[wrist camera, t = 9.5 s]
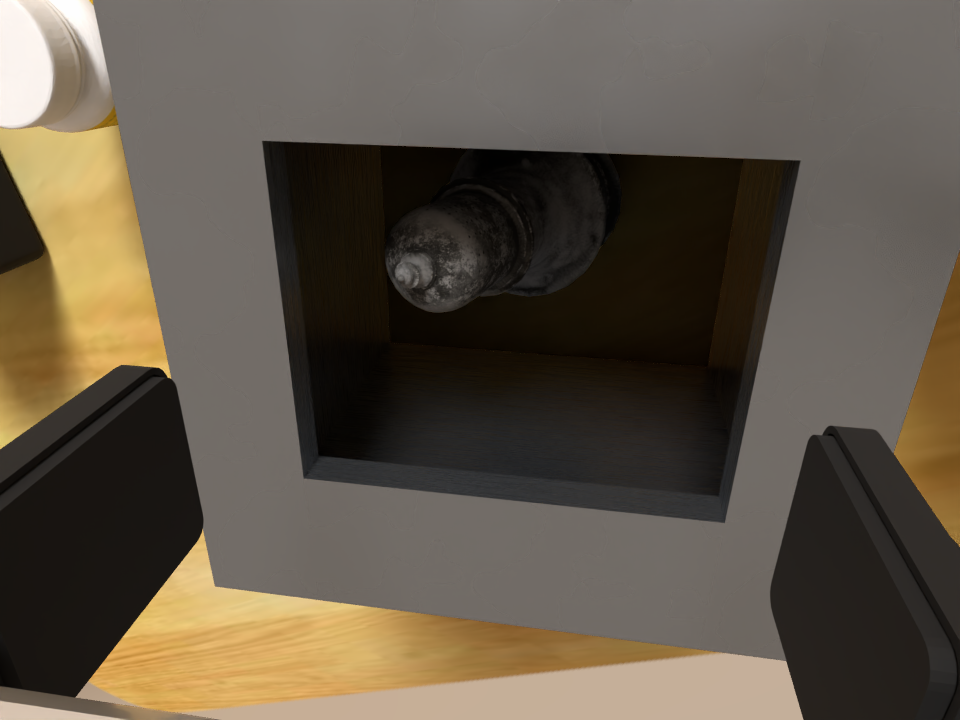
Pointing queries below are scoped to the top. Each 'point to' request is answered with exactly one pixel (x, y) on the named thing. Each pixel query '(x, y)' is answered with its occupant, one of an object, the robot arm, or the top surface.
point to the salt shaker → (505, 227)
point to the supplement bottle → (53, 67)
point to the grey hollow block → (516, 375)
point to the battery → (15, 228)
